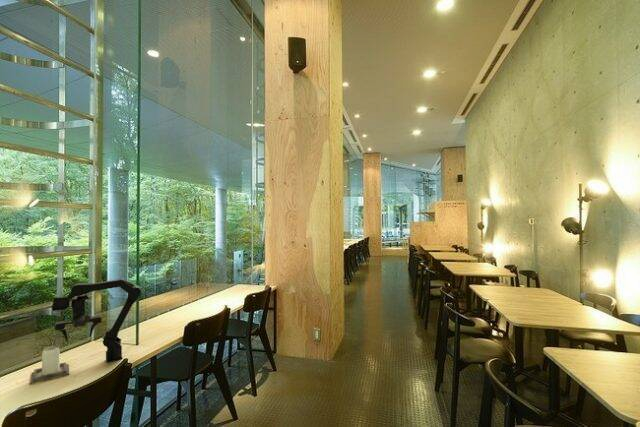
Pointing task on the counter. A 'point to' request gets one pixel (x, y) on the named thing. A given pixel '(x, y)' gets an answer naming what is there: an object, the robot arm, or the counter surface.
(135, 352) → the counter surface
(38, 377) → the holder
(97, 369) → the counter surface
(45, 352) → the can
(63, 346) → the counter surface
